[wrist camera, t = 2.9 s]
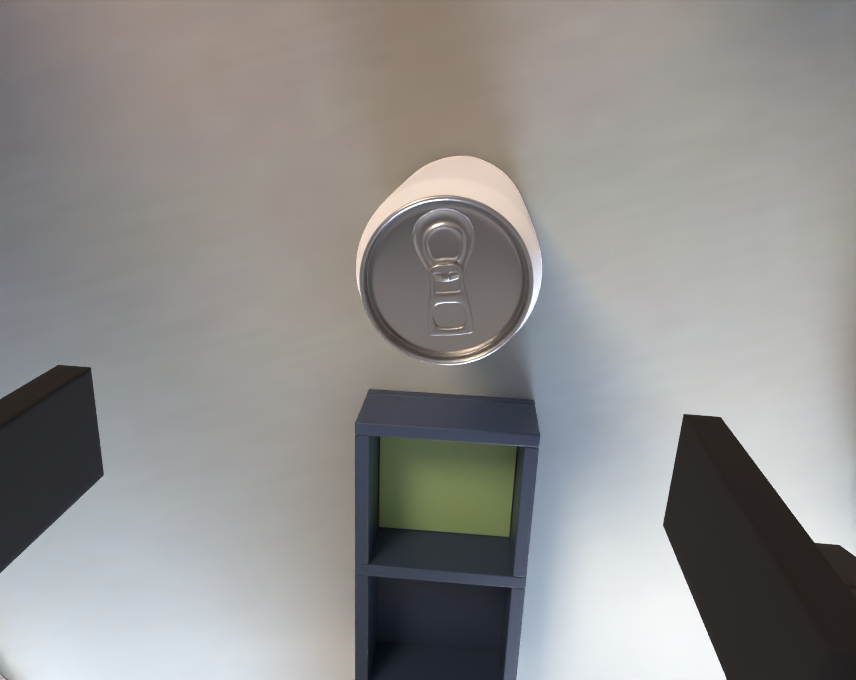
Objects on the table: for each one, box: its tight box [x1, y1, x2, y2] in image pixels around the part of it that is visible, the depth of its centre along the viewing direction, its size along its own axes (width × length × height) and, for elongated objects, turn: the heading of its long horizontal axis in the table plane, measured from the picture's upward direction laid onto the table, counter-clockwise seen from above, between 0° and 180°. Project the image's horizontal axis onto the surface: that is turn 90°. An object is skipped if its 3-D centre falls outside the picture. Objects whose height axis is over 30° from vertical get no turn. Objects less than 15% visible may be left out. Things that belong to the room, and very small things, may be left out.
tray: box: [355, 389, 540, 680], centre depth 37 cm, size 17×9×4 cm, turn 178°
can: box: [356, 156, 542, 365], centre depth 27 cm, size 6×6×12 cm
